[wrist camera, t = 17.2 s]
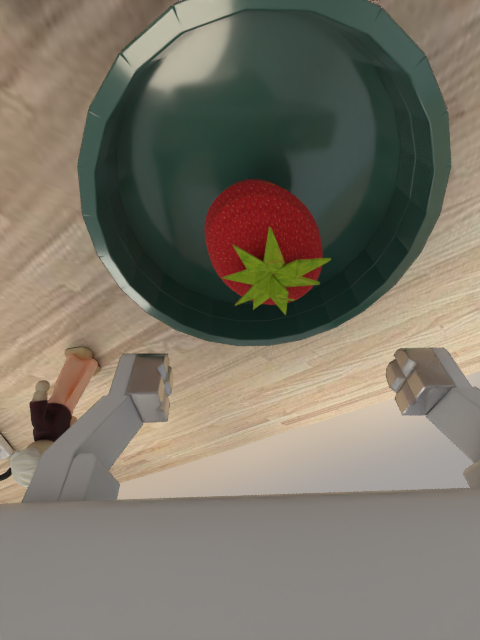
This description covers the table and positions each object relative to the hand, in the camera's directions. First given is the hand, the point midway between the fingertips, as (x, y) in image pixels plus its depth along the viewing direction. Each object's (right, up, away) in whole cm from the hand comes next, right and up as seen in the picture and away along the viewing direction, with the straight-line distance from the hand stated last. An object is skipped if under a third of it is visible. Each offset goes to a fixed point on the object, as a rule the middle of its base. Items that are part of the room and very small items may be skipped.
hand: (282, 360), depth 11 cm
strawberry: (0, +9, +10) cm, 13 cm away
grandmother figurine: (-18, -2, +22) cm, 29 cm away
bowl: (0, +10, +10) cm, 14 cm away
